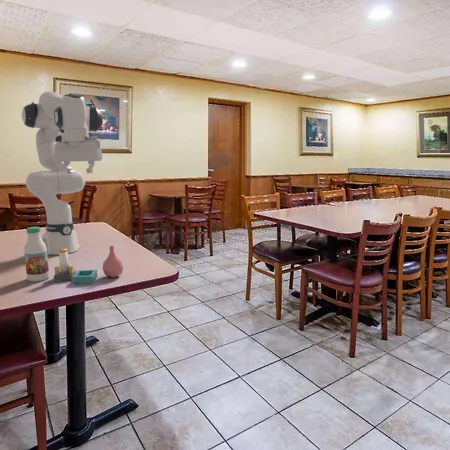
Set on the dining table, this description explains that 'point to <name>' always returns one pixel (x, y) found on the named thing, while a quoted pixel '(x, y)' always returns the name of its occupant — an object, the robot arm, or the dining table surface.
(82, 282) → the tray
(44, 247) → the milk bottle
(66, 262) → the fuse
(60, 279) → the clip block
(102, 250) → the dining table surface
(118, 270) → the pink bulb-shaped piece
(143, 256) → the dining table surface
